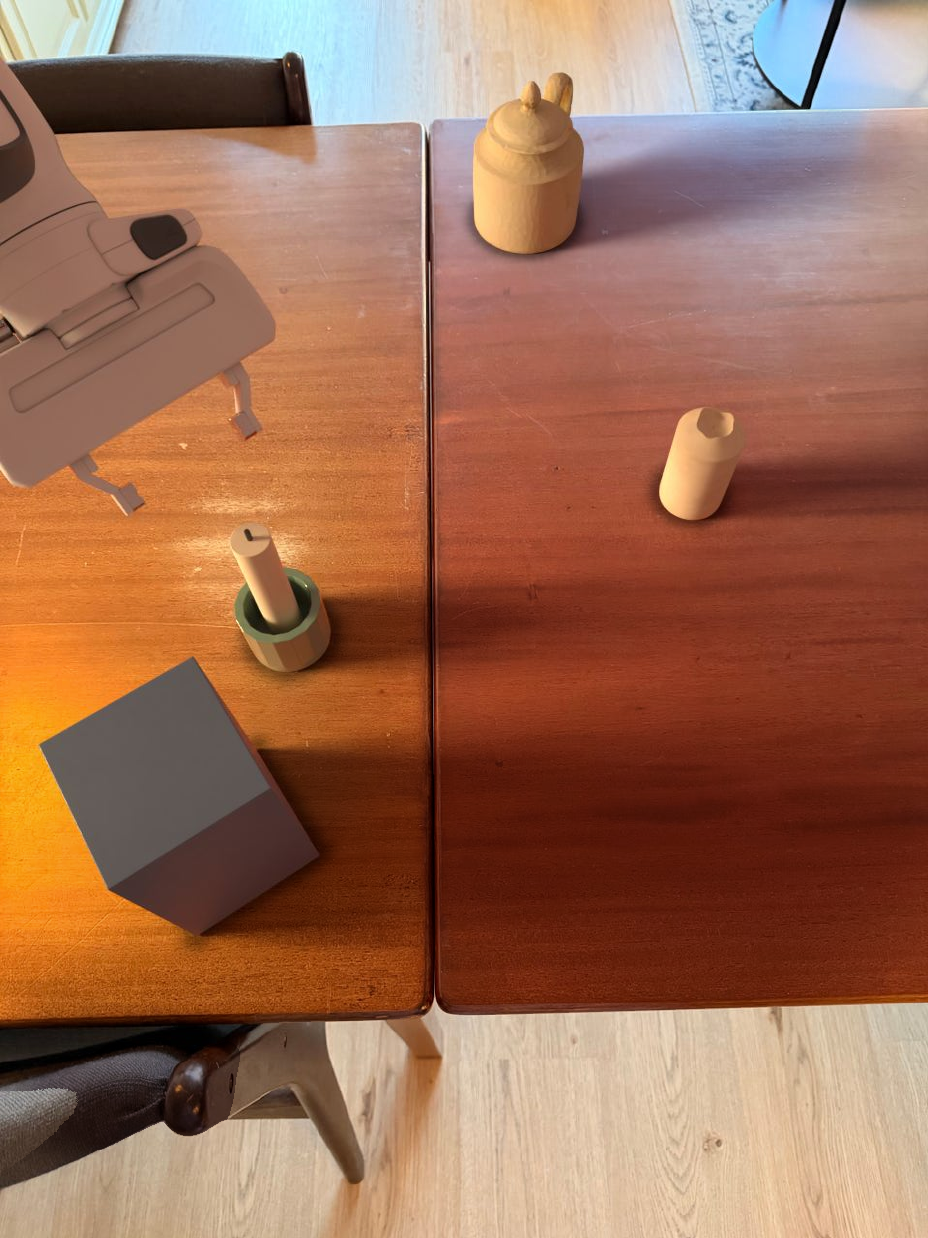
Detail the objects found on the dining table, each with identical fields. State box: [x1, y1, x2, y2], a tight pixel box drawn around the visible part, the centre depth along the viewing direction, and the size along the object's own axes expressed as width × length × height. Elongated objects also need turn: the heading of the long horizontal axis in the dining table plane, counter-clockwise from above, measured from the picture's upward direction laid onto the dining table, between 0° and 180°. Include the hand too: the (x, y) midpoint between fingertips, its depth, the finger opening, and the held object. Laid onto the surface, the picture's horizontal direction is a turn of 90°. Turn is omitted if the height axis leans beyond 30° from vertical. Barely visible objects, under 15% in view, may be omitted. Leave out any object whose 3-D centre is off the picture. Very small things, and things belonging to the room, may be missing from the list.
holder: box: [233, 566, 332, 673], centre depth 72 cm, size 7×7×6 cm
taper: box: [229, 521, 304, 635], centre depth 67 cm, size 3×3×15 cm
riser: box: [38, 656, 320, 937], centre depth 59 cm, size 10×10×17 cm
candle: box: [659, 406, 747, 521], centre depth 76 cm, size 6×6×10 cm
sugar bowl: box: [472, 71, 585, 255], centre depth 91 cm, size 15×11×15 cm
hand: (196, 472), depth 62 cm, fingers open, 8 cm apart
